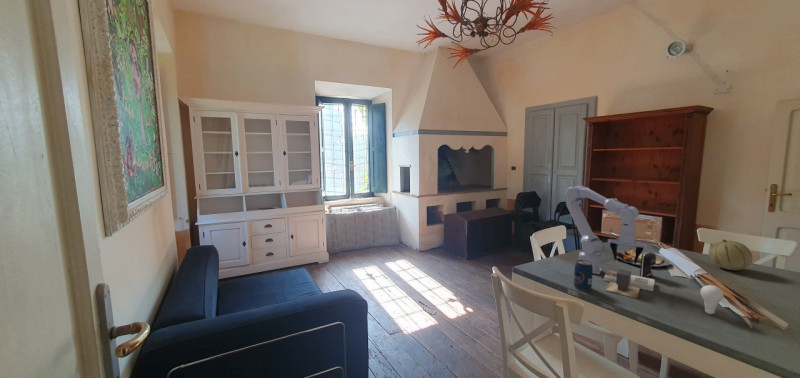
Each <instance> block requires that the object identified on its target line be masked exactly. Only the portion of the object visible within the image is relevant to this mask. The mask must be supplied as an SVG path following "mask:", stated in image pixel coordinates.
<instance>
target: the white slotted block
mask: <svg viewBox="0 0 800 378" xmlns="http://www.w3.org/2000/svg"><path fill="white" fill-rule="evenodd" d="M617 272H618V271H615V270H607V271H606V273H605V275H604V276H603V281H604V282H605V281H606V282H609V283H610V281H611V282H615V283H616V279H617ZM655 281H656V279H653V278H651V277H649V278H645V277H641V276H640V275H635V274H634V275H633V274H631V282H630V285H629V286H633V287H638V288H640V290H645V291H650V292H654V288H655Z"/></svg>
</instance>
